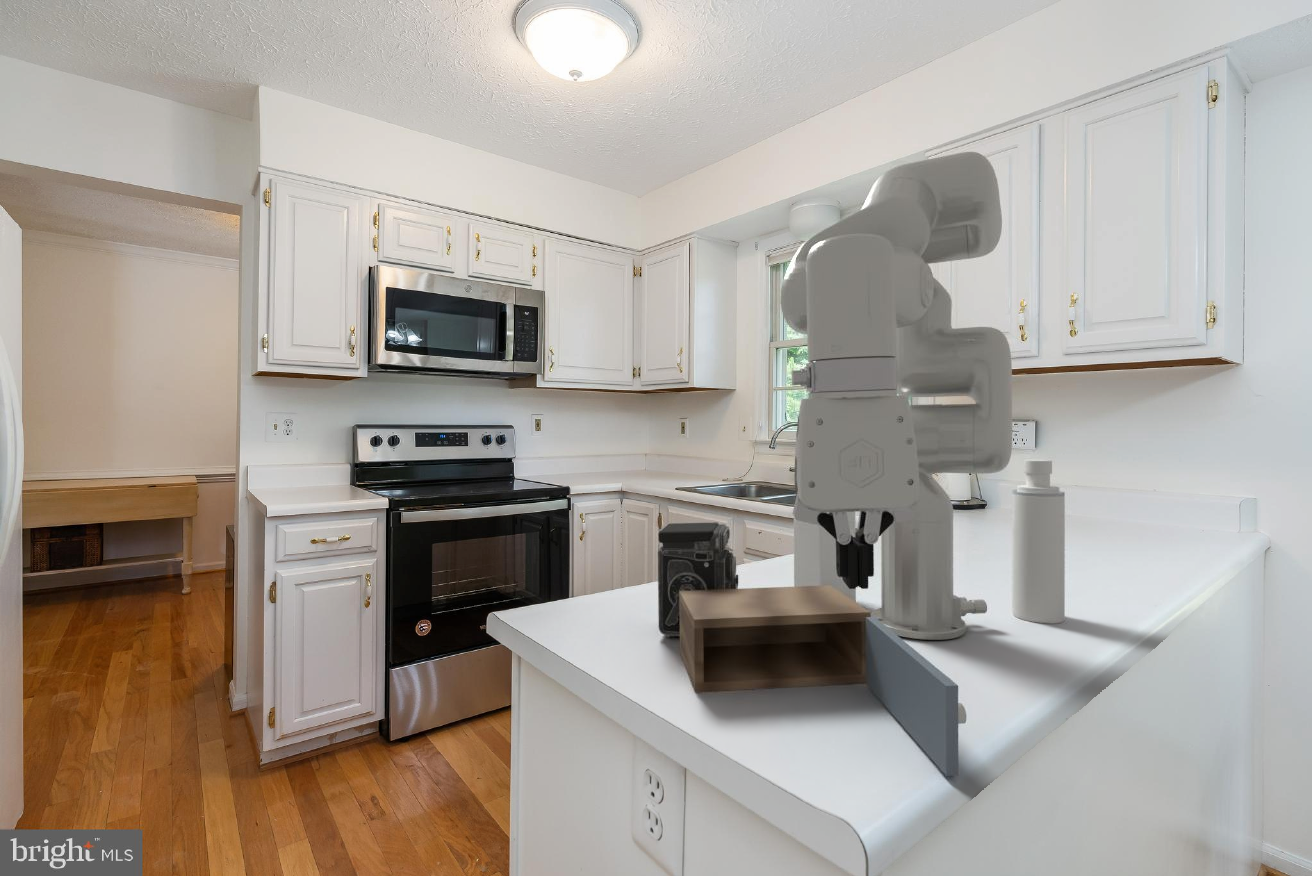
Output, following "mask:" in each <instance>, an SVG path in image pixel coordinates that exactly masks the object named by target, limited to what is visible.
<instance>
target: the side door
mask: <svg viewBox="0 0 1312 876" xmlns="http://www.w3.org/2000/svg"><path fill="white" fill-rule="evenodd" d="M865 684H866V685H867V687H868V688H869V689H870V690H871V691H872V692H873V694H874V695H875V697H877V698H878V699H879V701H880V702H881V703H882V704H883V705H884V706H885V707H886V709H887V710H888V711H889V712H890V713H891V715H893V716H894V718H895V719H896V720H897V721H898V722H899V723H900V725H901V726H902V727H903V728H904V729H905V731H906V732H907V733H908V734H909V735H910V736H911V737H912V738H913V740H914V741H915V742H916V743H917V744H918V745H919V746H920V748H921V749H922V750H923V752H924V753H926V754H927V756H928V757H929V758H930V760H932V761H933V763H934V764H935V765H936V766H937V767H938V768H939V770H940V771H941V772H942V773H943V774H944V775H945V777H956V776H957V777H958V776H959V724H965V723H966V722H967V711H966V709H965V706H964V705H963V703H961V702H959V685H958V684H957V683H956V682H954V680H952V679H951V678H950V677H949V676H947V675H946V674H945V673H944V672H943V671H941V670H940V669H939V668H937V667H936V666H935V665H934V664H932V663H931V662H930V661H929V660H928V659H927V658H926V657H924V656H923V655H922V654H921V653H920V652H918V651H917V650H916V649H914V648H913V647H912V646H911V645H909V643H907V642H906V641H905V640H903V639H902V638H901V636H897V635H896V634H895V633H894V632H892V631H891V630H890V629H889V628H888V627H886V626H885V625H884V624H883V623H881V622H880V621H879V620H878V619H877V618H875V617H866V683H865Z"/></svg>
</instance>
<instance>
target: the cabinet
mask: <svg viewBox="0 0 1312 876" xmlns="http://www.w3.org/2000/svg"><path fill="white" fill-rule="evenodd" d="M679 611H680V636H679V655H680V656H681V660H682V662H683V665H684V667H685V670H686V673H687V675H688V678H689V681H690V684H691V685H692V688H693V691H694V693H703V692H704V693H706V692H708V693H709V692H722V691H723V692H724V691H742V690H743V691H744V690H760V689H761V690H765V689H779V688H780V689H782V688H800V687H801V688H802V687H817V686H836V685H837V686H838V685H839V686H840V685H855V684H866V617H871V611H870V610H868V609H867V608H865V607H863V605H861V604H859V603H858V602H855V601H853V600H852V599H850V598H849V597H847V596H846V595H844V594H843V593H841V592H840V591H838V590H837V589H835V588H834V587H832V586H831V585H825V586H798V587H794V586H777V587H775V586H774V587H773V586H772V587H752V588H751V587H749V588H748V587H747V588H746V587H745V588H744V587H743V588H738V589H717V590H691V591H679Z"/></svg>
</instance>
